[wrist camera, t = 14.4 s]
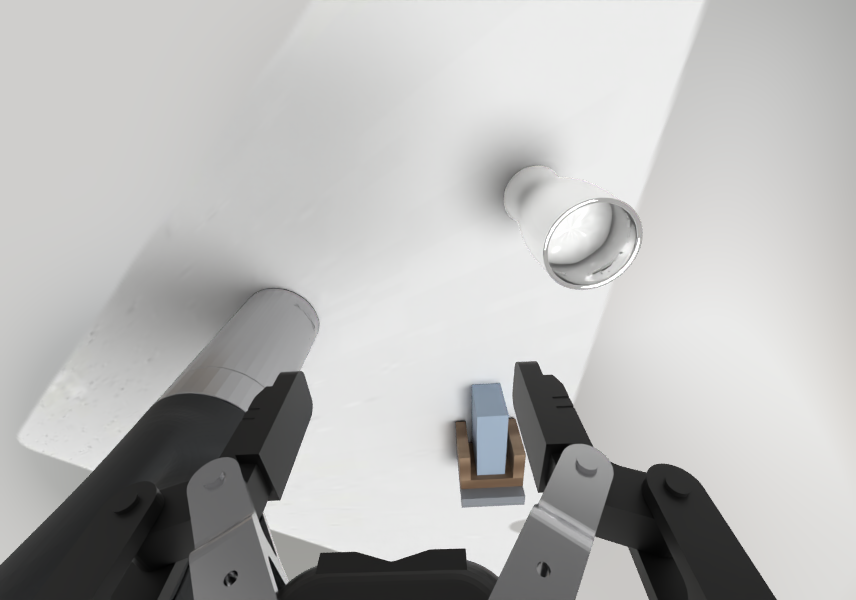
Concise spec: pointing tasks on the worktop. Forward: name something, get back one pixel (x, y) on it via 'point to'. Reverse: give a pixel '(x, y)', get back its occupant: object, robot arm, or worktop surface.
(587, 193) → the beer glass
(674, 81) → the worktop surface
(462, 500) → the wall
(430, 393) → the worktop surface
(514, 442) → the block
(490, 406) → the peg
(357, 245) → the worktop surface
